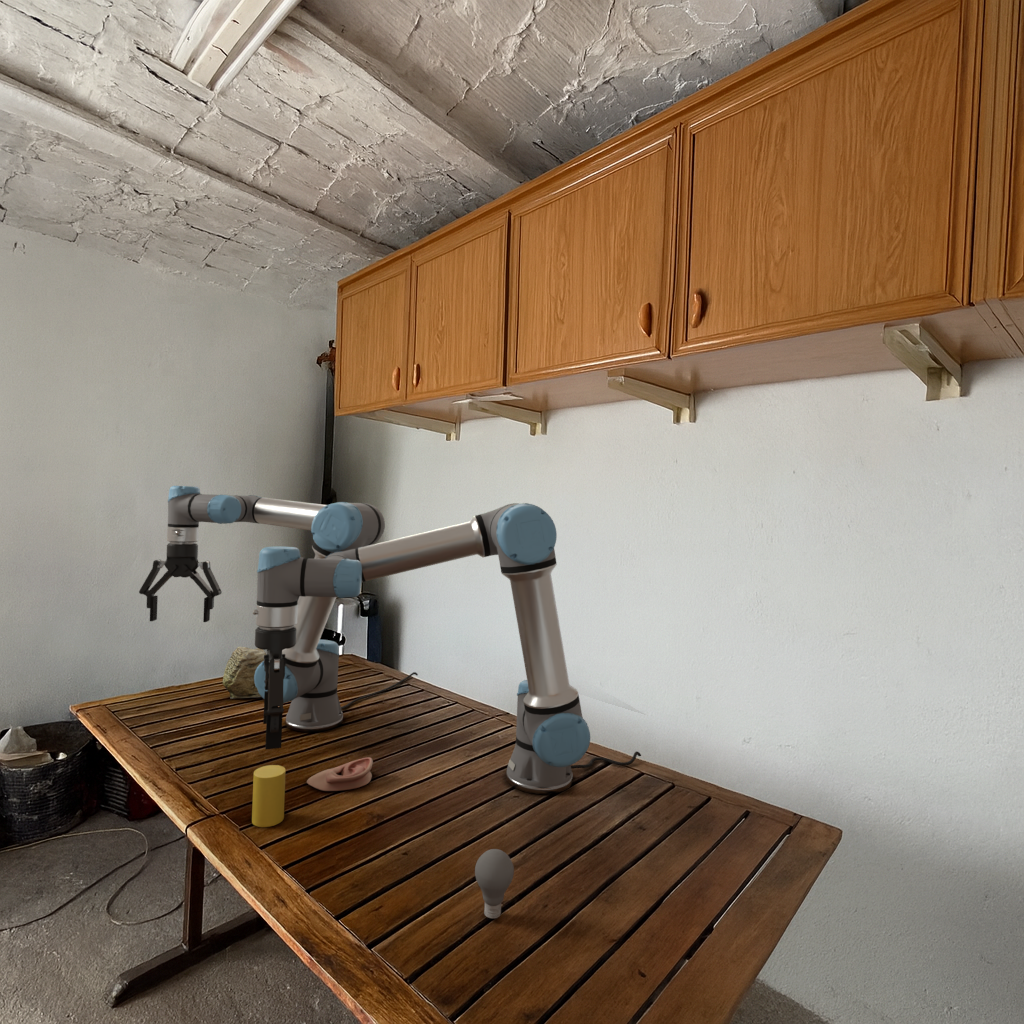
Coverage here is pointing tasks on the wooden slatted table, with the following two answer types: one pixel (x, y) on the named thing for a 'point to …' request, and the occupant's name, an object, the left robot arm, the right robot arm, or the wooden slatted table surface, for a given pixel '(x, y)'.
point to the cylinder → (268, 795)
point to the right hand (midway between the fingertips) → (271, 735)
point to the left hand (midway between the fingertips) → (180, 620)
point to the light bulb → (494, 879)
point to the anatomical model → (343, 776)
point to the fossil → (243, 672)
